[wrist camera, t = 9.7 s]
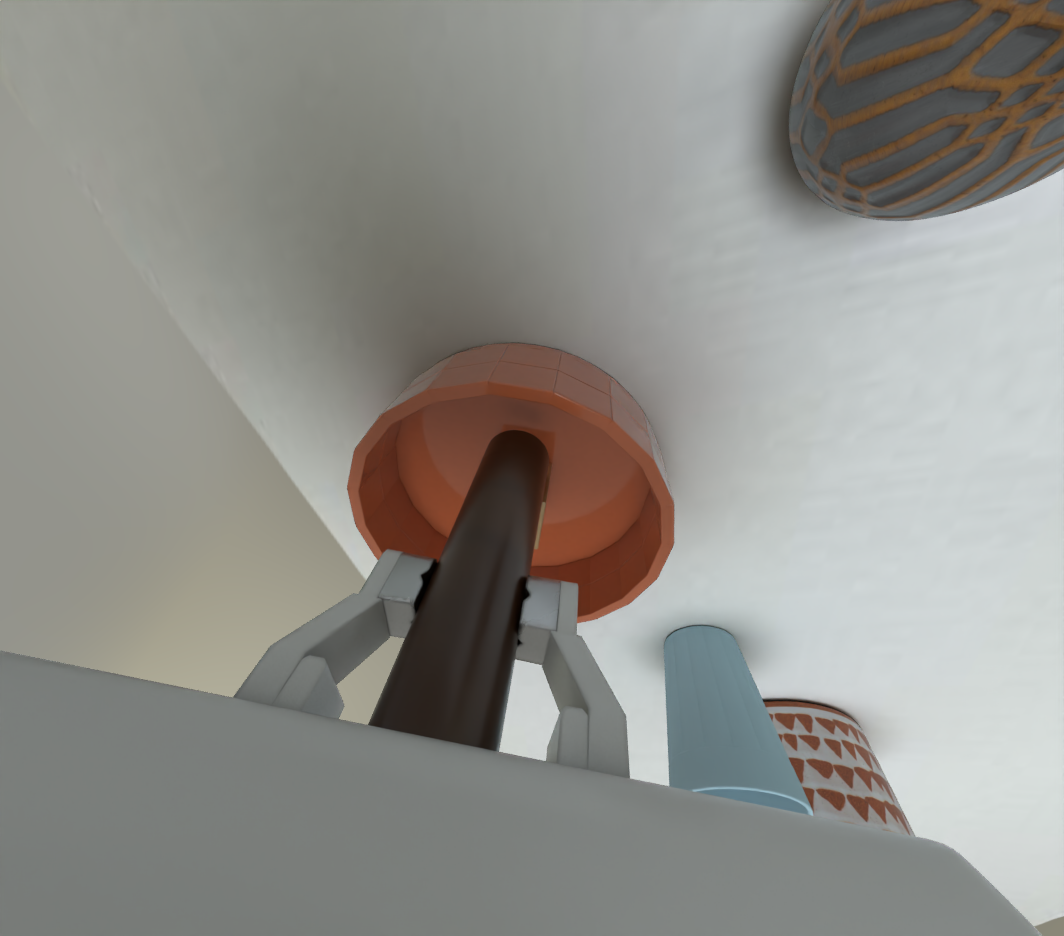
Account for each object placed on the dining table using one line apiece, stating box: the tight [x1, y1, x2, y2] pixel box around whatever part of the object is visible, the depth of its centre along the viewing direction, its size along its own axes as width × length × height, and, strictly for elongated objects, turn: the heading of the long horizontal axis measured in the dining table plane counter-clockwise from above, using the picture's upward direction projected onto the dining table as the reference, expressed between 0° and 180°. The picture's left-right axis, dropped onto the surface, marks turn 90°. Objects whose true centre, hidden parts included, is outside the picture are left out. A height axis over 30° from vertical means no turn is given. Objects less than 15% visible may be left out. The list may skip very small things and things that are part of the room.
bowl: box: [347, 343, 674, 623], centre depth 21 cm, size 16×16×5 cm
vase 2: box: [764, 701, 915, 836], centre depth 32 cm, size 14×14×13 cm
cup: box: [664, 626, 813, 816], centre depth 27 cm, size 8×8×10 cm
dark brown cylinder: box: [368, 430, 549, 752], centre depth 12 cm, size 3×3×13 cm
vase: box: [789, 0, 1064, 221], centre depth 9 cm, size 7×7×9 cm
